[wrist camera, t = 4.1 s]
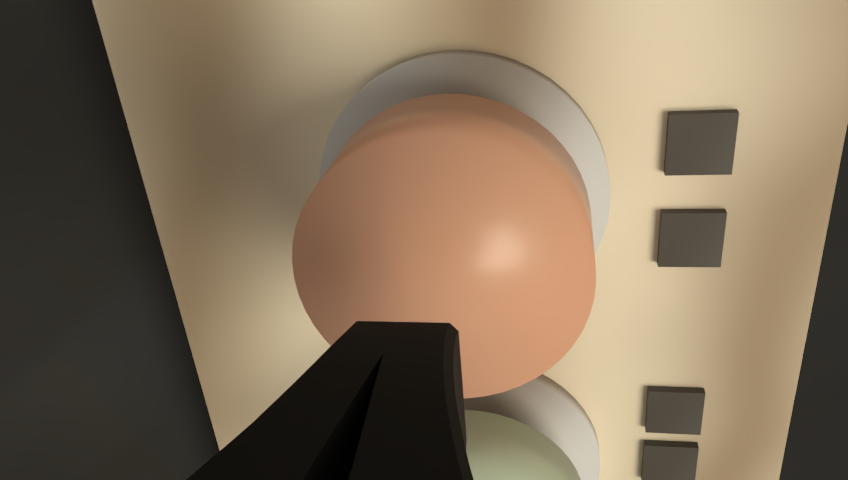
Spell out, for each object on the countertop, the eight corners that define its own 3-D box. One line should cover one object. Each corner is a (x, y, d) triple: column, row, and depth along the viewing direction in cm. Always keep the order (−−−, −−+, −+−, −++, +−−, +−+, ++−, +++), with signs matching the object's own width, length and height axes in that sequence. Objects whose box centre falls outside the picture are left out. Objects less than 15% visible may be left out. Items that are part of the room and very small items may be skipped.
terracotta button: (595, 88, 12) (601, 129, 10) (588, 336, 14) (593, 404, 13) (305, 98, 13) (266, 137, 11) (343, 330, 15) (316, 393, 14)
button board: (858, -177, 13) (917, -181, 11) (710, 707, 25) (724, 787, 23) (119, -110, 15) (50, -101, 13) (312, 664, 27) (292, 732, 25)
